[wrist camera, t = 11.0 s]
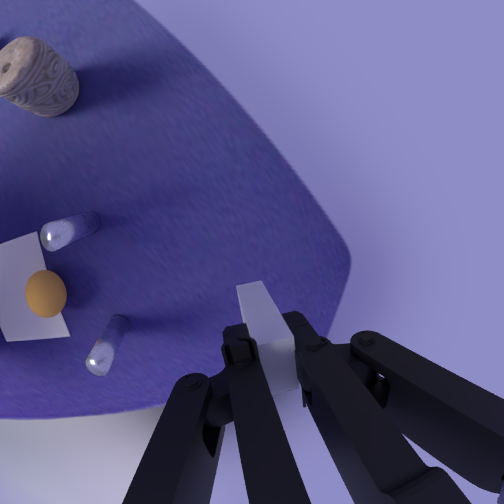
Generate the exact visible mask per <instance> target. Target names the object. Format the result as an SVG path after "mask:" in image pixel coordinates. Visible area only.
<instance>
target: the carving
mask: <svg viewBox="0 0 504 504" xmlns="http://www.w3.org/2000/svg"><path fill="white" fill-rule="evenodd" d="M78 94H79V82H78V79H77V75H76V73H75V72H74V68H73V67H72V66H70V63H69V62H67V60H66V59H65V58H64V57H63V56H61V55H60V54H59V53H57V52H56V51H55V50H54V49H53V48H52V47H51V46H49V45H48V44H47V43H45V42H44V41H43V40H41V39H39V38H37V37H33V36H24V37H19V38H17V39H15V40H13V41H11V42H10V43H9V44H7V45H6V46H5V47H4V48H3V49H2V50H1V51H0V97H4V98H5V99H7V100H9V101H10V102H12V103H14V104H16V105H17V106H18V107H21V108H22V109H24V110H28V111H29V112H32V113H35V114H36V115H40V116H43V117H54V116H57V115H60V114H62V113H64V112H65V111H67V110H68V109H69V108H70V107H71V106H72V105H73V104H74V102H75V101H76V99H77V97H78Z"/></svg>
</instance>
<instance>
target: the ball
mask: <svg viewBox="0 0 504 504" xmlns="http://www.w3.org/2000/svg"><path fill="white" fill-rule="evenodd" d="M25 298H26V301H27V304H28V306H29V308H30V309H31V310H32V311H33V312H34V313H35V314H36V315H38V316H40V317H44V318H50V317H54V316H56V315H57V314H59V313H60V312H61V311H62V309H63V308H64V306H65V303H66V298H67V292H66V287H65V285H64V282H63V281H62V279H61V278H60V277H59V276H58V275H57V274H56V273H54V272H52V271H49V270H40V271H37V272H35V273H34V274H33V275H32V276H31V277H30V278H29V280H28V281H27V284H26V287H25Z"/></svg>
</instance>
